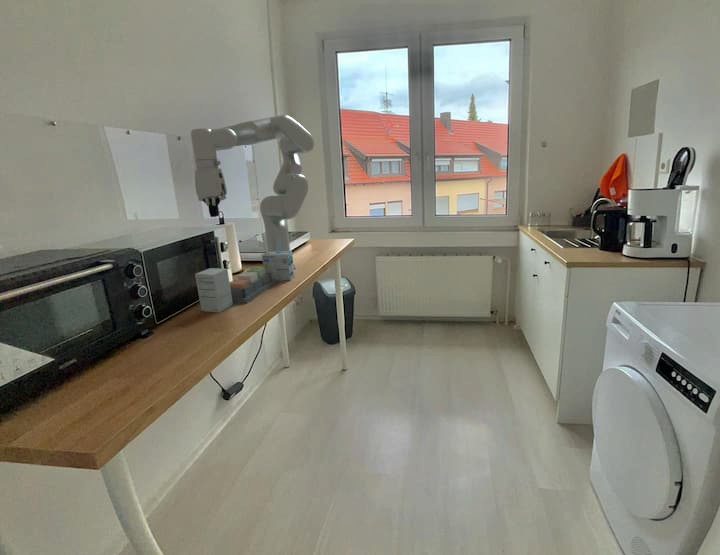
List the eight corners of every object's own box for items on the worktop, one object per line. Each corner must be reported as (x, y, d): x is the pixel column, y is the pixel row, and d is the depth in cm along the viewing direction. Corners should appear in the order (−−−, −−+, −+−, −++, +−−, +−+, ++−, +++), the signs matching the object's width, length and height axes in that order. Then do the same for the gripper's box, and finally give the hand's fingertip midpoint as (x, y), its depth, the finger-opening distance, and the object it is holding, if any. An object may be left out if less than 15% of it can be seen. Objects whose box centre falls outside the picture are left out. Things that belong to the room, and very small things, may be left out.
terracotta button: (237, 290, 151) (235, 279, 149) (250, 290, 149) (248, 279, 148) (229, 295, 146) (228, 283, 145) (243, 295, 145) (241, 284, 144)
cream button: (245, 282, 157) (244, 272, 156) (258, 282, 155) (257, 272, 154) (239, 286, 152) (237, 275, 151) (252, 286, 151) (250, 275, 150)
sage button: (254, 277, 163) (253, 267, 162) (266, 277, 162) (265, 267, 161) (248, 281, 158) (246, 270, 157) (260, 281, 157) (259, 270, 156)
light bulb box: (295, 276, 173) (292, 250, 170) (291, 280, 167) (288, 253, 164) (269, 277, 174) (266, 251, 171) (264, 281, 168) (261, 255, 165)
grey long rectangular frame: (252, 282, 167) (251, 271, 166) (276, 283, 165) (274, 271, 163) (220, 303, 144) (218, 290, 143) (246, 303, 142) (245, 290, 141)
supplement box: (215, 303, 144) (209, 267, 141) (233, 305, 141) (228, 268, 138) (200, 311, 137) (194, 273, 134) (219, 312, 135) (213, 274, 131)
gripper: (231, 163, 154) (238, 214, 159) (194, 166, 157) (202, 215, 162) (220, 164, 147) (227, 217, 152) (182, 166, 150) (190, 218, 155)
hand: (214, 216), depth 157 cm, fingers closed
